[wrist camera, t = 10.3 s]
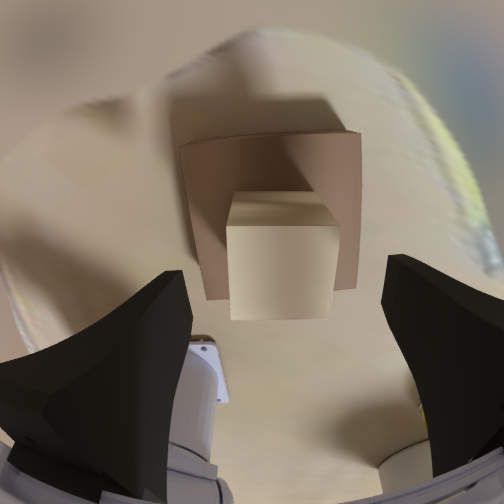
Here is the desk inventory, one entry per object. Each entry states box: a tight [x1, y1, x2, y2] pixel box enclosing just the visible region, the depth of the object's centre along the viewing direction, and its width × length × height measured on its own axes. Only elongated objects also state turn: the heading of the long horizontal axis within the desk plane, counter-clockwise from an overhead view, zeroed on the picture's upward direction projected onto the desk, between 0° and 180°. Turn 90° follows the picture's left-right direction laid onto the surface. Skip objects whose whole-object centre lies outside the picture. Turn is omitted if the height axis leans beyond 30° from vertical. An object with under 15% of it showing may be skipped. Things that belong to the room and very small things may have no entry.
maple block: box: [226, 191, 341, 320], centre depth 13 cm, size 4×4×5 cm
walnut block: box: [179, 130, 362, 300], centre depth 17 cm, size 9×9×3 cm
